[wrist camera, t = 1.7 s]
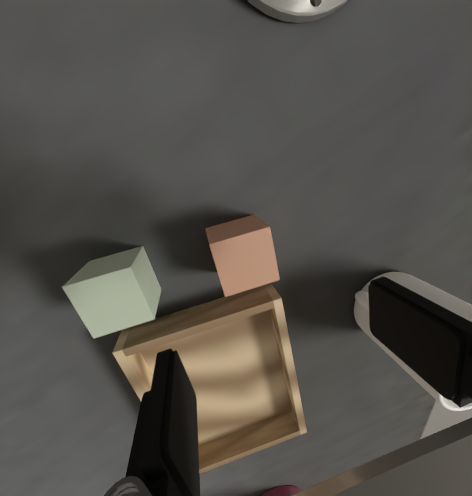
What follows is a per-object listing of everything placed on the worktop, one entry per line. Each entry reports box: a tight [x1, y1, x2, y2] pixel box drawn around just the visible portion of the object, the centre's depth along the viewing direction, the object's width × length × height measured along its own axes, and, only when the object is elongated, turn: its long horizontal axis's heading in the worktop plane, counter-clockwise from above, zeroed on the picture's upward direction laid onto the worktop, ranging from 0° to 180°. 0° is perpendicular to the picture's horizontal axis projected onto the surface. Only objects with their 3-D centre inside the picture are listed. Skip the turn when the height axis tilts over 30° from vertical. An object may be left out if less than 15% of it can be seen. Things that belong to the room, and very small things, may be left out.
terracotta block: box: [205, 215, 280, 297], centre depth 19 cm, size 4×4×4 cm
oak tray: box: [112, 283, 307, 474], centre depth 25 cm, size 20×15×3 cm
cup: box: [354, 272, 472, 411], centre depth 22 cm, size 8×12×10 cm
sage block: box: [62, 246, 161, 339], centre depth 18 cm, size 4×4×4 cm
